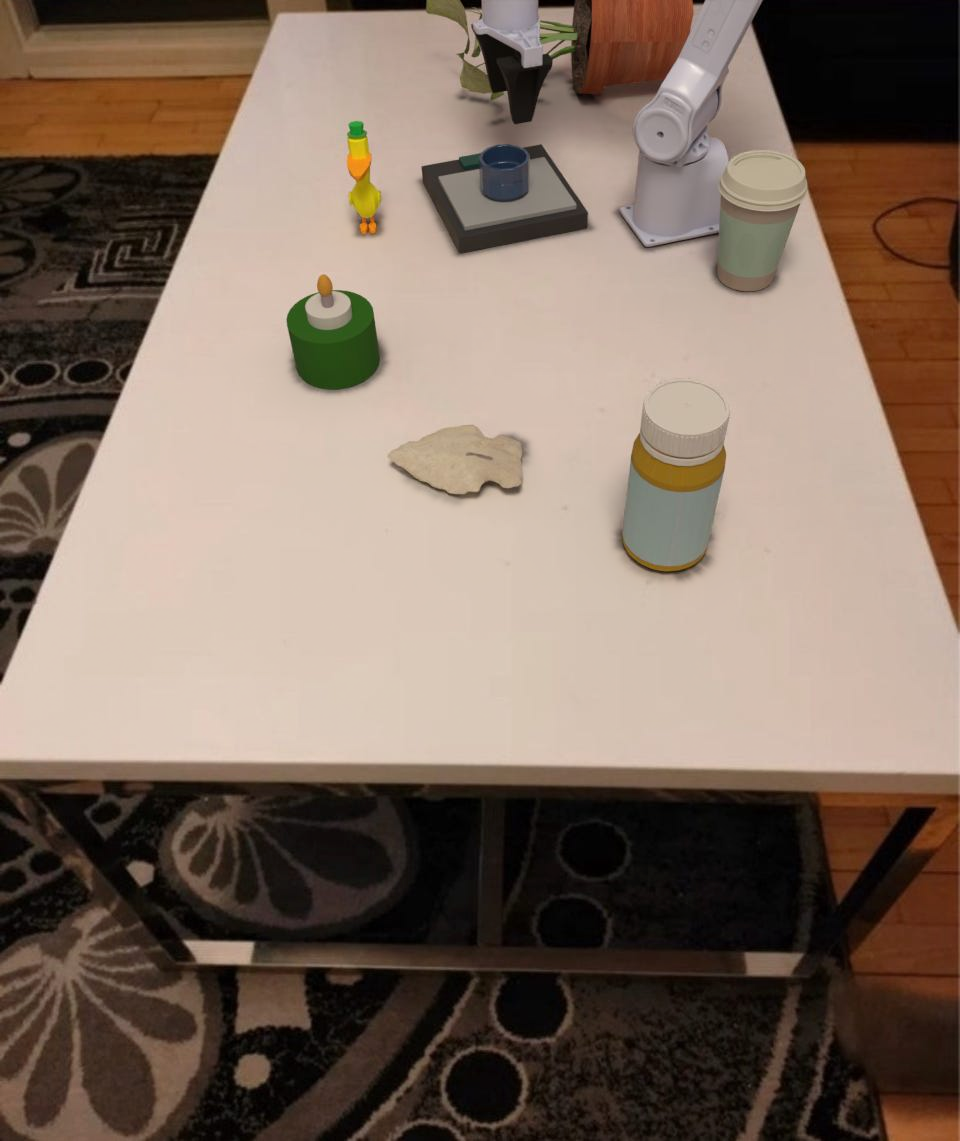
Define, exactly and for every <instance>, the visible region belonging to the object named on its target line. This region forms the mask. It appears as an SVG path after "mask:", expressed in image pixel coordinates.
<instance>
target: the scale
mask: <svg viewBox="0 0 960 1141" xmlns="http://www.w3.org/2000/svg"><path fill="white" fill-rule="evenodd" d="M522 148H523V149H525V150H527V152H528V153H529V155H530V185H529V189H528V191H527V192H526V193H525V194H524V195H523V196H522V197H521V198H519V199H516V200H513V201H507V202H501V201H495V200H492V199H490V198H488V197H487V196H486V195H485V194H484V193H483V192H482V190H481V189H480V173H479V157H480V154H481V152H479V153H474V154H468V155H462V156H459V157H458V159H453V160H448V161H447V160H446V161H441V162H437V163H432V164H426V165H425V164H424V165H421V175H422V176H421V178H422V183H423V186H424V187H425V189H426V191H427V194H428V195H429V196H430V198H431V201H432V203H433V204H434V207H435V209H436V211H437V212H438V214H439V217H440V219H441V220H442V223H443V224H444V227H445V228H446V230H447V232H448V234H449V236H450V238H451V240H452V242H453V244H454V246H455V248H456V250H457V252H458V254H465V253H471V252H474V251H480V250H485V249H490V248H495V247H500V246H505V245H509V244H515V243H519V242H525V241H531V240H535V239H540V238H545V237H550V236H555V235H561V234H566V233H570V232H575V231H581V230H584V229H585V230H586V229H588V223H589V222H588V220H589V219H588V218H589V212H588V210H587V209H586V207H585V206H584V203H582V201H581V200H580V198H579V197H578V195H577V193H575V191H574V190H573V188H572V187H571V185H570V184H569V182H568V181H567V180H566V178H565V177H564V175H563V174H562V172H561V170H560V169H559V168H558V166H557V165H556V163H555V162H554V160H553V159H552V158H551V156H550V155H549V153H548V152H547V150H546V148H545V146H543V144H542V143H541V144H534V145H531V146H530V145H529V146H523V147H522Z"/></svg>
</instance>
